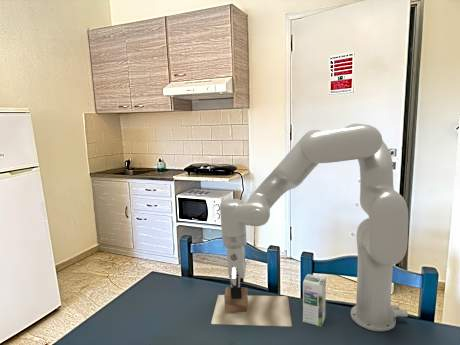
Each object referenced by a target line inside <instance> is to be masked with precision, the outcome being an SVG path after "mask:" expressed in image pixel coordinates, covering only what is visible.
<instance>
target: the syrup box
mask: <svg viewBox="0 0 460 345" xmlns="http://www.w3.org/2000/svg"><path fill="white" fill-rule="evenodd" d="M326 288H327V278H326V277H325V276H319V275H315V274H310V273H307V275H305V277H304V279H303V282H302V323H305V324H309V325H313V326H317V327H320V328H321V327H323V324H324V321H325V320H326V303H327V302H326V301H327V300H326V297H327V296H326V294H327V293H326V292H327V291H326V290H327V289H326Z"/></svg>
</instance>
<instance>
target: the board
mask: <svg viewBox="0 0 460 345" xmlns="http://www.w3.org/2000/svg"><path fill="white" fill-rule="evenodd" d="M224 295H225V294H218V295H217V299H216V302H215V306H214V310H213V315H212V319H211V323H210V324H211V325H231V326H232V325H234V326H260V327H261V326H262V327H263V326H265V327H267V326H268V327H293V324H292V316H291V310H290V303H289V296H287V295H286V296H285V295H282V296H281V295H249V294H248V310H247V314H242V313H225V300H224Z"/></svg>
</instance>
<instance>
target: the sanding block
mask: <svg viewBox="0 0 460 345" xmlns="http://www.w3.org/2000/svg"><path fill="white" fill-rule="evenodd" d="M248 291H249V290H248V287H241V292H242V298H241V299H232V298H231V288H230V287H229V286H226V287H225V291H224V294H223V295H224V300H225V313H242V314H247V310H248V295H249V294H248Z"/></svg>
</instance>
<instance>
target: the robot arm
mask: <svg viewBox="0 0 460 345" xmlns="http://www.w3.org/2000/svg"><path fill="white" fill-rule="evenodd" d="M354 160H357V162H358V164H359V165H358V166H359V176H360V181H359V183H360V185H359V187H360V188H359V189H360V191H359V204H360V207H361V208H362V209H361V210H363V211H364V212H365V213H366V214H367V216H368V218H365V219H363V220H362V221H361V222H360V223H359V224H358V227H357V230H356V247H357V249H356V250H357V270H356V271H357V273H356V274H357V275H356V276H357V277H356V301H355V302H356V304H355V305H354V306H353V307H351V310H350V317H351V320H352V321H353V322H354V323H356V324H357V325H358V326H360V327H362V328H364V329H366V330H368V331H369V330H370V331H373V332H386V331H390V330H393V329H394V328H395V327H396V323H397V322H396V318H398V317H404V318H405V317H408V314H409V313H408V311H407V309H400V306H399V305H392V304H391V302H392V290H393V289H392V288H393V285H392V284H393V274H394V273H393V271H394V270H393V269H394V268H393V267H394V265H397V264H399V263H400V262H401V261H402V260H403V259H404V257H405V256H406V253H407V250H408V237H409V236H408V235H409V234H408V233H409V209H408V205H407V202H406V200H405V198H404V197H403V196H402V194H400V193H399V192H398V191H396V190H395V188H394V167H393V159H392V154H391V152H390V150H389V148H388V146H387V145H386V143H385V141H384V140H383V136H382V134H381V132H380V130H378V128H377V127H375V126H372V125H371V124H365V123H352V124H349V125H346V126H345V127H344V128H337V129H330V130H329V129H328V130H320V129H311V130H309V131H307V132H306V133H305V134H304V135H303V136H301V138H300V139H299V140H298V142H296V143H295V145H294V146H293V147H292V148H291V149H290V151H289V152H288V153H287V154H286V155H285V157H283V159H282V160H281V161H280V162H279V163H278V165H277V166H276V167H274V169H273V170H272V171H271V173H269V175H267V177H266V178H265V179H264V180H263V181H262V182H261V183H260V184H259V185H258V187H257V188H256V189H255V190H254V192H252V194H251V195H250V196H249V198H248V200H247V201H246V202H244V201H243V200H241V199H239V198H228V199H227V198H226V199H224V200H222V201H221V203H220V204H219V212H220V225H221V237H222V246H223V247H225V248H226V262H227V274H228V275H227V276H228V278H229V279H230V288H231V298H232V299H241V298H242V292H241V288H242V285H241V283H244V280H245V279H244V278H245V277H246V271H247V270H246V269H247V262H246V252H245V246H246V245H247V244H248V242H247V240H248V239H247V227H246V226H250V227H262V226H265V225H266V224H267V223H268V222H269V220H270V215H271V211H270V210H271V208H272V207H273V206H274V204H275V203H276V202H277V201H278V200H279V199H280V198H281V197H282V196H283V195H284V194H285V193H287V192H288V191H290V190H292V189H296V188H297V187H299V186H300V185H301V184H302V183H303V182H304V181H305V179H306V178H307V177H308V176H309V175H310V174H311V173H312V171H313V170H314V169H315V168H316V167H317V166H318V165H319V164H328V163H329V164H331V163H340V162H346V161H347V162H348V161H354Z"/></svg>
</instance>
